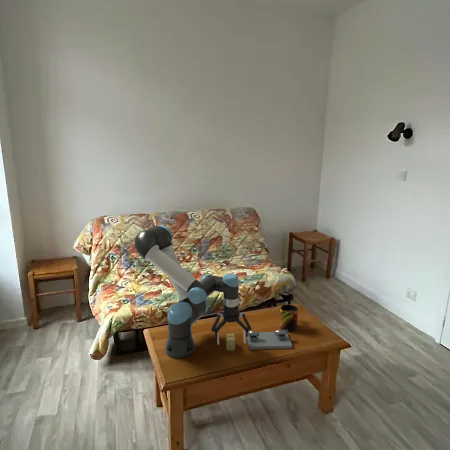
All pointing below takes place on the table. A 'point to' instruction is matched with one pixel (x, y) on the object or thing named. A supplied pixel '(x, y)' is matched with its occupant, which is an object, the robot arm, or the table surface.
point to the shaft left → (253, 335)
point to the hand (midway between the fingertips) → (231, 342)
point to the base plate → (269, 341)
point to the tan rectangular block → (230, 341)
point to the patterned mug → (288, 317)
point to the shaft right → (281, 334)
